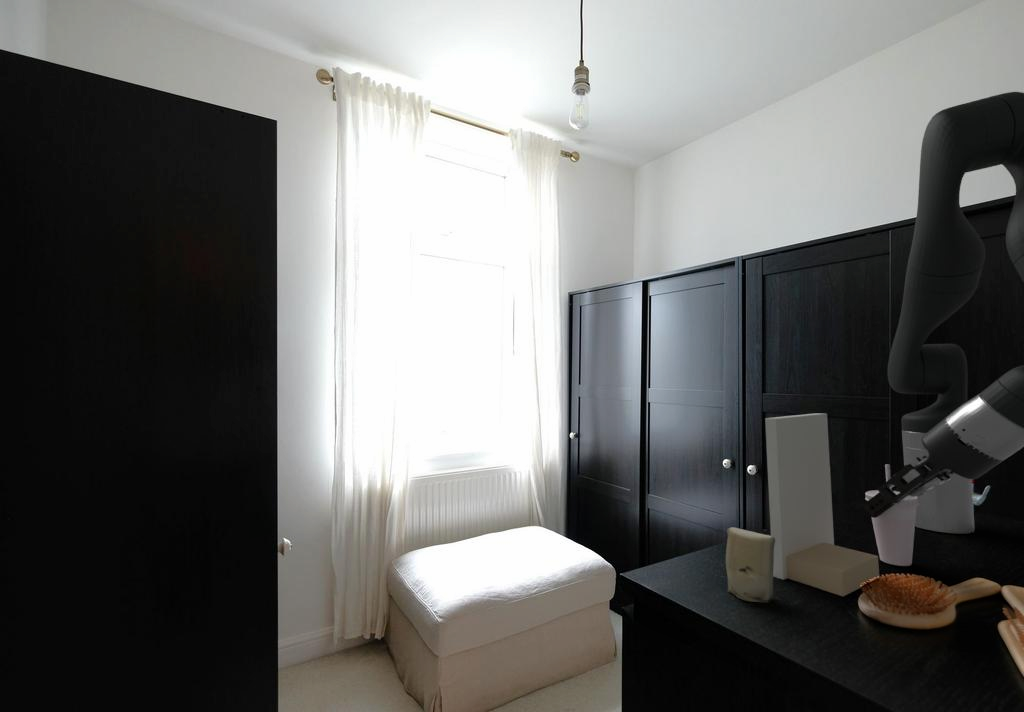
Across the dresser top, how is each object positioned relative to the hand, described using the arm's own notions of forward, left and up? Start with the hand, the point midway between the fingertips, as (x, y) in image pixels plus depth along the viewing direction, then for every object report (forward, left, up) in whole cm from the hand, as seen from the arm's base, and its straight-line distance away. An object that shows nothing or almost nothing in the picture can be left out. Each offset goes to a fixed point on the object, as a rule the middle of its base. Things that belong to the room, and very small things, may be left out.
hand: (879, 508), depth 74 cm
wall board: (+12, -1, -8) cm, 14 cm away
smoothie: (0, +2, -8) cm, 8 cm away
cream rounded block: (+27, -4, -8) cm, 28 cm away
